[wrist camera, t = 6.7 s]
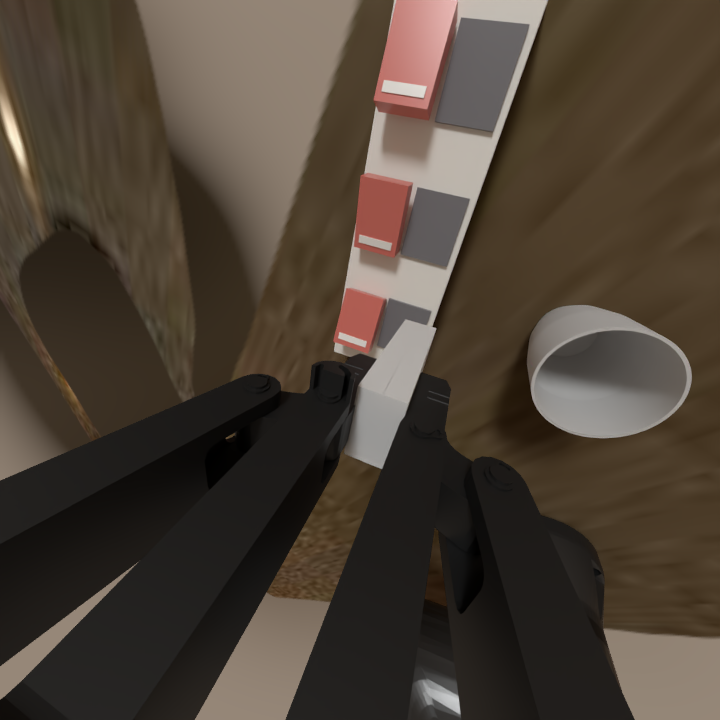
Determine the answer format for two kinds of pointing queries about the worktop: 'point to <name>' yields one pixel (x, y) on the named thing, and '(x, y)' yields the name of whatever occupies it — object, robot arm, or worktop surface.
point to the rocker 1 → (381, 213)
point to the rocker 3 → (415, 56)
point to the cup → (603, 373)
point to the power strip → (444, 161)
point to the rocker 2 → (359, 320)
